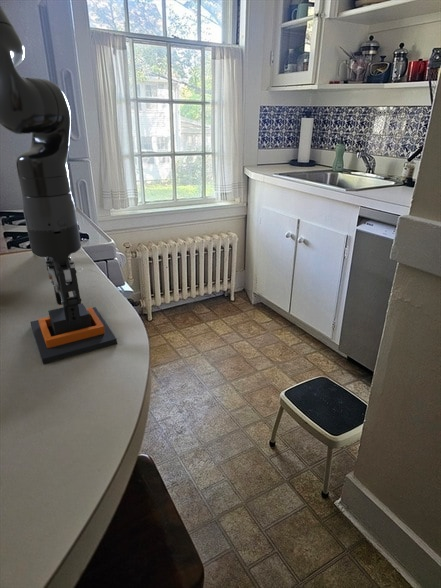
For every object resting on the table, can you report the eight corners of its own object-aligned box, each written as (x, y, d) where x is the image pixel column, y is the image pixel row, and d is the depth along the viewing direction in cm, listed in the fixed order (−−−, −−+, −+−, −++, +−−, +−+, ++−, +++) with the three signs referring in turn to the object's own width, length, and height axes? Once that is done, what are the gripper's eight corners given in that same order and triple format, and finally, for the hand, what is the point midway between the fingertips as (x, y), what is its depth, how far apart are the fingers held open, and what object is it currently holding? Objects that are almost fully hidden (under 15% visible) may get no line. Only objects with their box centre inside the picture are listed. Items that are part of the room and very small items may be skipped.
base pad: (43, 364, 62) (40, 351, 61) (31, 326, 73) (28, 314, 72) (117, 343, 68) (115, 331, 67) (96, 311, 78) (94, 300, 77)
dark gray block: (56, 340, 67) (53, 322, 65) (51, 327, 70) (48, 310, 69) (92, 331, 69) (89, 314, 68) (85, 319, 73) (82, 302, 72)
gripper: (20, 215, 65) (39, 302, 72) (32, 237, 54) (53, 337, 61) (67, 210, 69) (81, 293, 76) (87, 229, 58) (101, 325, 65)
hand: (68, 313), depth 68 cm, fingers open, 8 cm apart
